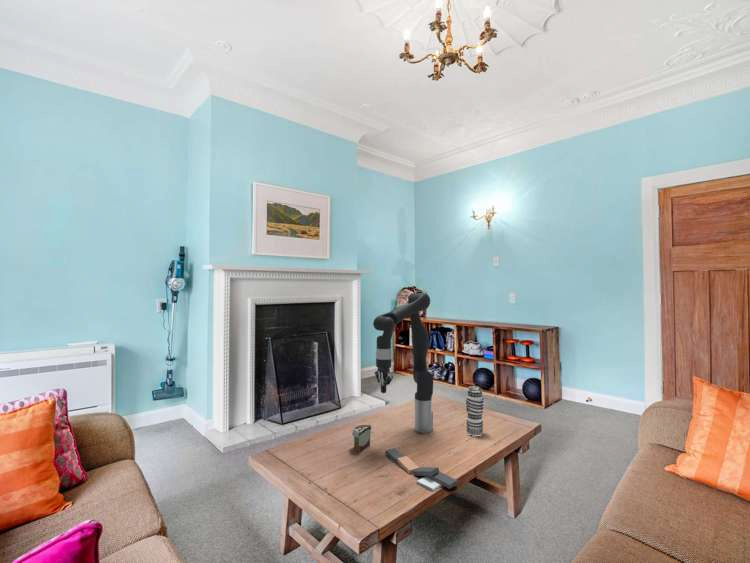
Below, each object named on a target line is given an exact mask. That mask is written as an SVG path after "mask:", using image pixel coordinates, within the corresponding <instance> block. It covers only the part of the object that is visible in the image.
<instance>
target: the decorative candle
mask: <svg viewBox="0 0 750 563" xmlns="http://www.w3.org/2000/svg"><path fill="white" fill-rule="evenodd" d="M466 390H467V395H466V396H467V397H466V400H465V404H466V406H465V407H466V413H467V416H466V418H467V419H466V434H467V433H468V434H469V435H468V434H467V435H468V436H470V435H472V436H471V437H473V436H475V435H476V436H477V435H481V434H482V433H484V432H483V431H484V422H483V414H484V411H483V410H484V397H483V389H482V388H481V387H480V386H477V385H470V386H469V387H468V388H466Z"/></svg>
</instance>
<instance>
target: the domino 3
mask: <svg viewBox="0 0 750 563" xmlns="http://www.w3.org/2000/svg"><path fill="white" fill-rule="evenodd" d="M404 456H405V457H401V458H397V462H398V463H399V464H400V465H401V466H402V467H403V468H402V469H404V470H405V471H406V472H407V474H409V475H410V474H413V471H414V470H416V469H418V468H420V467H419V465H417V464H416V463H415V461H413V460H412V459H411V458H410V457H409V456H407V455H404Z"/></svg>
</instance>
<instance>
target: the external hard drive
mask: <svg viewBox="0 0 750 563" xmlns="http://www.w3.org/2000/svg"><path fill="white" fill-rule="evenodd" d="M416 485H418V486H421V487H423V488H425V489H427V490H428V491H431V492H435V491H436V490H438V489H439V488H441V487H442V486H443V485H441V484H439V483H437V482H435V481H433V480H432V479H430V476H423V477H421V478H420V479H418V480H416ZM443 487H444V486H443Z"/></svg>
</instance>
